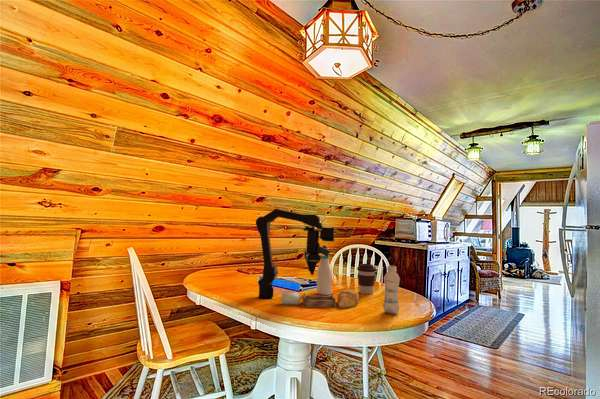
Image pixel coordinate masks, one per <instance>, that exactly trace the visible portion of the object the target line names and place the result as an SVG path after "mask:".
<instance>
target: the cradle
mask: <svg viewBox="0 0 600 399" xmlns="http://www.w3.org/2000/svg"><path fill="white" fill-rule="evenodd" d="M302 304H303V308H336V297H335V295H334V294H333V293H331V294H330V295H306V293H305V292H304V293H303V294H302Z"/></svg>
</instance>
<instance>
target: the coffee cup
mask: <svg viewBox="0 0 600 399" xmlns="http://www.w3.org/2000/svg"><path fill="white" fill-rule="evenodd" d="M356 268H357V269H356V270H357V272H358V273H357V279H358V280H357V281H358V282H357V284H358V291H359V292H358V293H360V294H363V295H373V293H374V287H375V278H376V272H377V267H375V266H374V264H372V263H371V264H370V263H360V264H359V266H357V267H356Z"/></svg>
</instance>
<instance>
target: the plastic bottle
mask: <svg viewBox="0 0 600 399" xmlns="http://www.w3.org/2000/svg"><path fill="white" fill-rule="evenodd" d="M386 267H387V268H386V269H387V270H386V271H387V272H386V273H385V275H384V276H383V281H384V299H383V304H382V308H383V312H385V313H386V314H390V315H393V314H398V313H399V311H400V303H399V286H400V281H401V278H400V275H399V274H398V273H397V271H398V270H397V266H396V265H387V266H386Z"/></svg>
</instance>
